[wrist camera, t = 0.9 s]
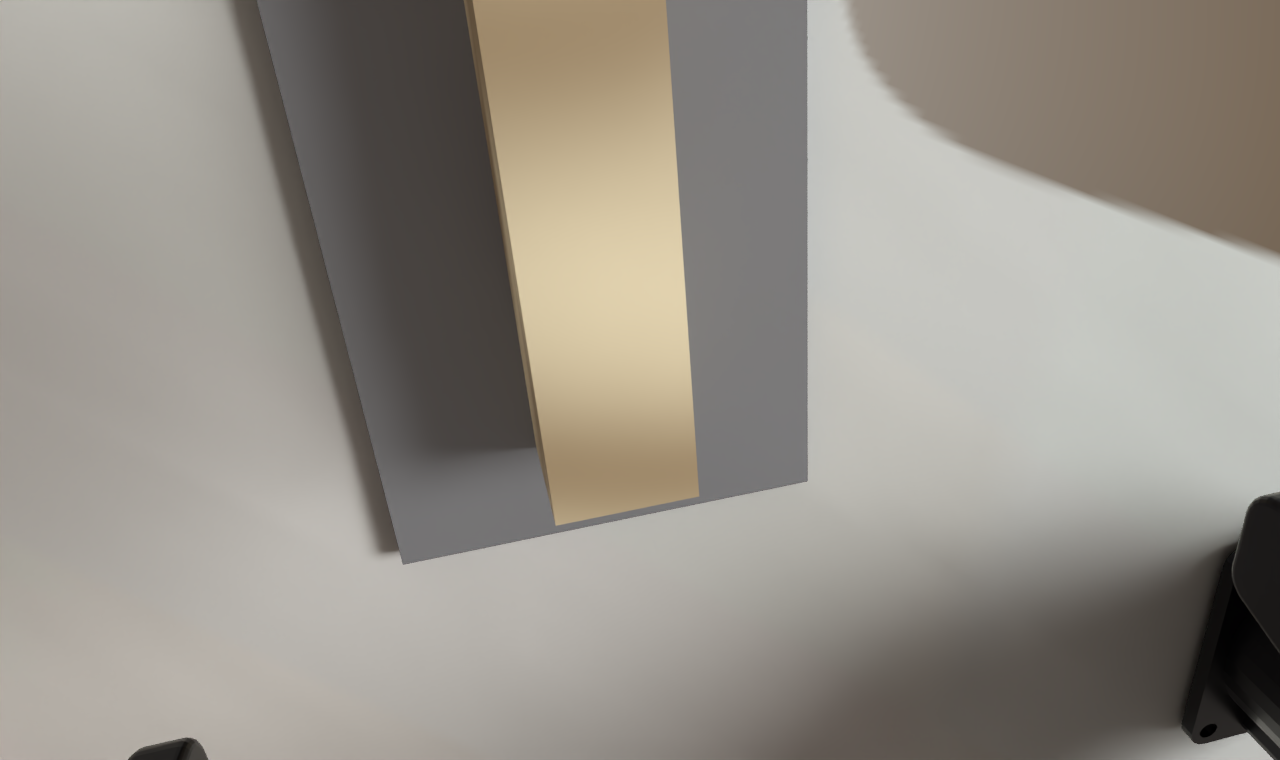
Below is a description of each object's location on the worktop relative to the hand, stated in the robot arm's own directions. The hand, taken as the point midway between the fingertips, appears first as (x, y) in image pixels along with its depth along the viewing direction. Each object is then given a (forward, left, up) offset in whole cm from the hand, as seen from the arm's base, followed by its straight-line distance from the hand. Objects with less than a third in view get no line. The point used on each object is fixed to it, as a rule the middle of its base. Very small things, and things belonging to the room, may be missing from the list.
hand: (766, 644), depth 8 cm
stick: (+3, 0, -10) cm, 10 cm away
